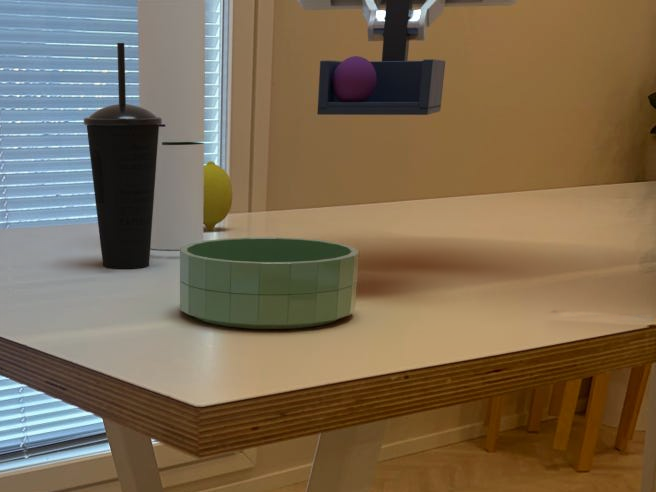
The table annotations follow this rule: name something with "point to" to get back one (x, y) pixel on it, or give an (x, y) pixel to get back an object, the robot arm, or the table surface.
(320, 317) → the bowl
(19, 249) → the table surface
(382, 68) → the scoop
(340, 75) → the ball
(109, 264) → the drinking cup
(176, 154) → the cylindrical container
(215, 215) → the lemon
